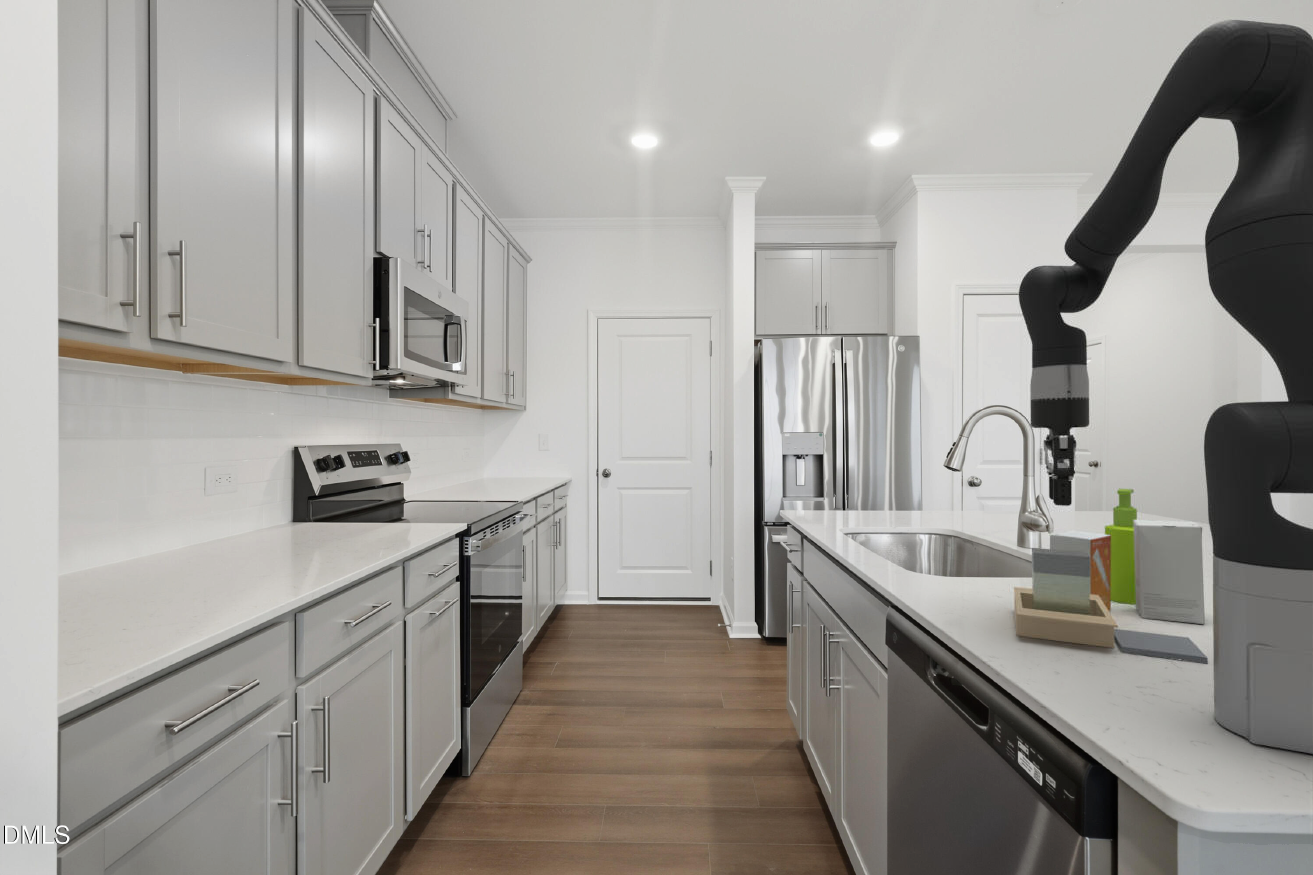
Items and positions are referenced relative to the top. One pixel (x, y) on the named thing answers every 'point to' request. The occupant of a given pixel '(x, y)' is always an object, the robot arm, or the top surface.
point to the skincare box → (1169, 570)
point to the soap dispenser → (1123, 549)
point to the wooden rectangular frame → (1064, 622)
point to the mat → (1158, 645)
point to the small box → (1099, 558)
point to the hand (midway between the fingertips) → (1059, 502)
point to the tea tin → (1061, 581)
